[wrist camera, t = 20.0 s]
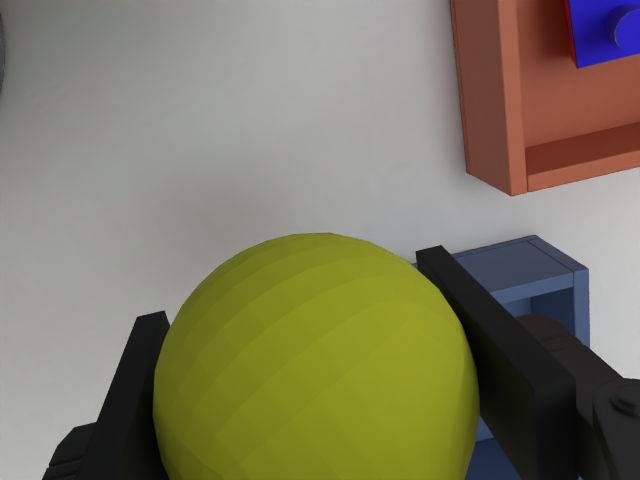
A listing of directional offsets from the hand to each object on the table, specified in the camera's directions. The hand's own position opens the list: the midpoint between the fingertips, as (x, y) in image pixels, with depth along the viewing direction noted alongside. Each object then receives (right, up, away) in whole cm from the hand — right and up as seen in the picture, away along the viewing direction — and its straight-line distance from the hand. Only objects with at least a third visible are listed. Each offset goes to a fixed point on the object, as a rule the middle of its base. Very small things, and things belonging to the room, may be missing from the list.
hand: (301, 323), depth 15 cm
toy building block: (+14, +13, +11) cm, 22 cm away
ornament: (0, 0, 0) cm, 0 cm away
